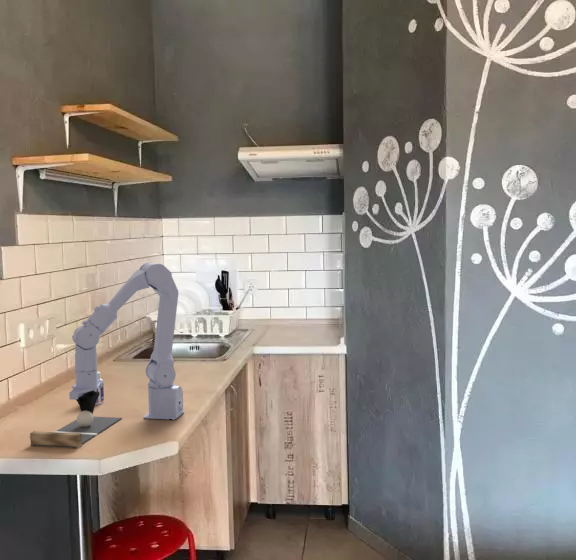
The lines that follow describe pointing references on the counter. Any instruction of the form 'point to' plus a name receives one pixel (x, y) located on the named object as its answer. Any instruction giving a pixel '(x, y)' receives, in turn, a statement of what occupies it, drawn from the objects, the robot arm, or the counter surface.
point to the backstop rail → (56, 439)
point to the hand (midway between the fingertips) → (87, 419)
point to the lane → (87, 428)
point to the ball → (85, 418)
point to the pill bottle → (101, 390)
